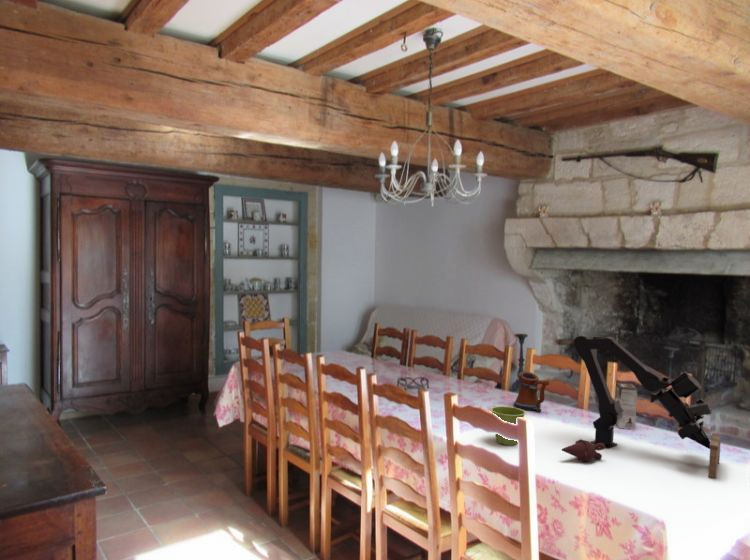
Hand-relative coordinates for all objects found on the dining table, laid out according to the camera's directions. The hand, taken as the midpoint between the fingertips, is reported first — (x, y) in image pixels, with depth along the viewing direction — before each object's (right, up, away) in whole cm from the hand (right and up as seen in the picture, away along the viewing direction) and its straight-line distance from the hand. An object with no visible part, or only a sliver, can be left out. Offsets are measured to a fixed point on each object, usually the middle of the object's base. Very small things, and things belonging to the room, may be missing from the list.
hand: (710, 447), depth 178 cm
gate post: (+4, -6, +5) cm, 9 cm away
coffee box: (-8, -4, +43) cm, 44 cm away
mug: (-39, -3, +62) cm, 73 cm away
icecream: (-39, -5, +3) cm, 40 cm away
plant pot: (-60, -4, +19) cm, 63 cm away
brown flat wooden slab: (-1, -6, -3) cm, 7 cm away
